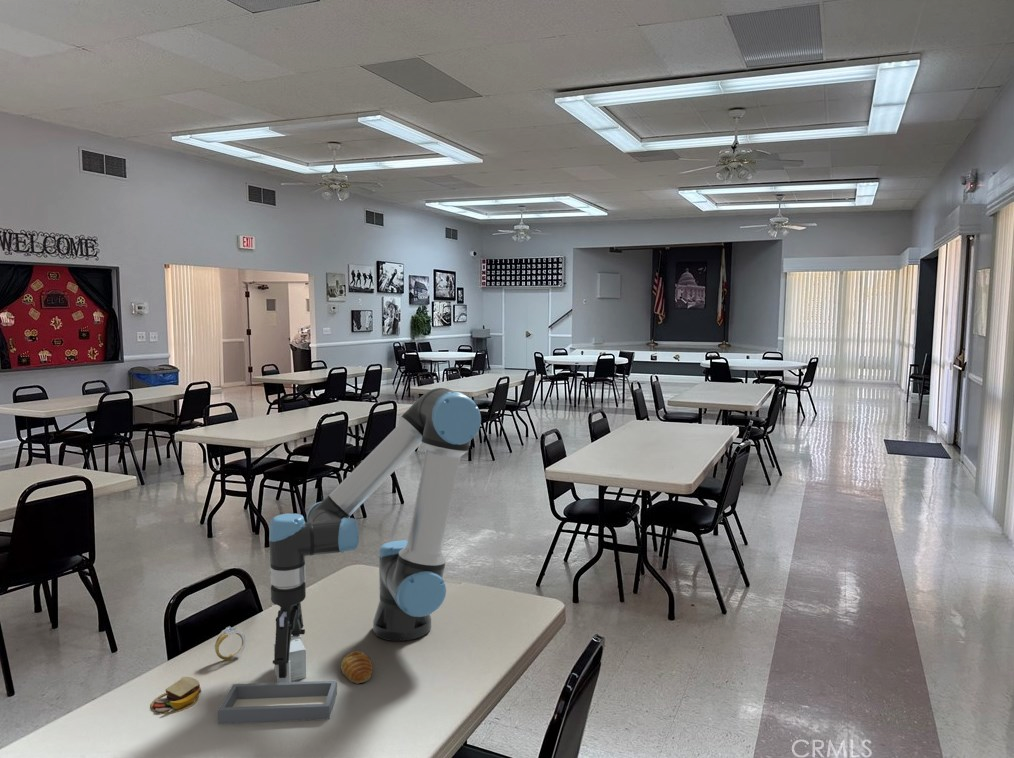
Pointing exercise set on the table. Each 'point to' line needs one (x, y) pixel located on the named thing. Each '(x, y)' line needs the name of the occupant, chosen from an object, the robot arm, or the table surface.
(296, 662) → the product box
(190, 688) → the toy sandwich meal
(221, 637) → the ring
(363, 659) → the pastry
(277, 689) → the tray
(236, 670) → the table surface
